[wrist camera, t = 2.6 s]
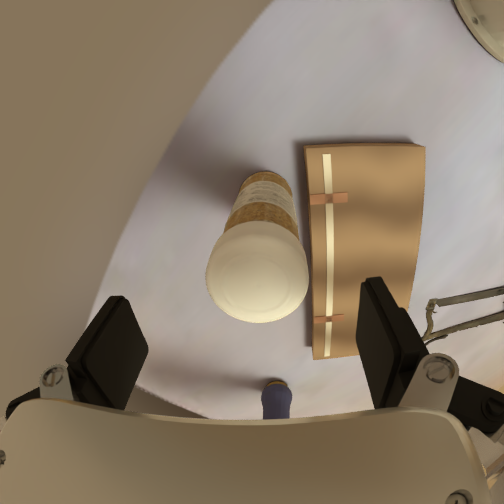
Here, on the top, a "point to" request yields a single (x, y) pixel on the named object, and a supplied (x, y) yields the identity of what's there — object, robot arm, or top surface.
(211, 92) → the top surface
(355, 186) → the board
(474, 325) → the hacksaw
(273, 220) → the sprinkles bottle
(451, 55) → the top surface
